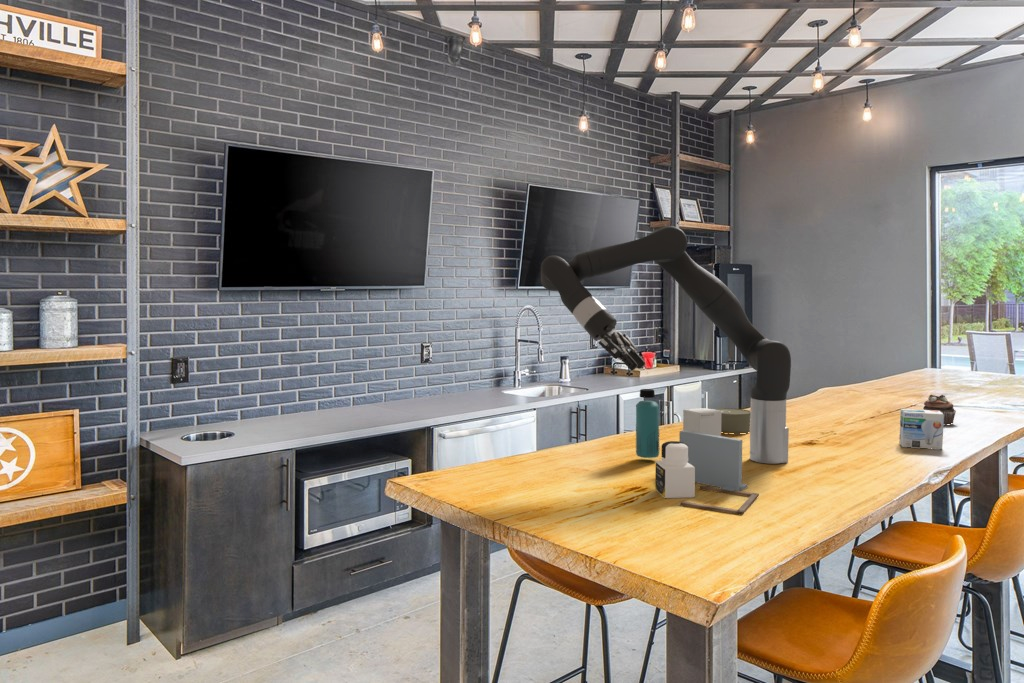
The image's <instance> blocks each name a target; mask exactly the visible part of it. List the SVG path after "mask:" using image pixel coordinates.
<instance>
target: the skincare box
mask: <svg viewBox="0 0 1024 683" xmlns="http://www.w3.org/2000/svg"><path fill="white" fill-rule="evenodd" d="M682 412H683V415H682V416H683V417H682V418H683V421H682V423H683V425H682V428H683V429H682V430H684V431H690V432H697V433H703V434H709V435H716V436H722V434H721V412H722V411H720V410H715V409H713V408H707V407H703V408H700V407H699V408H686V409H685V408H684V409H683V410H682Z"/></svg>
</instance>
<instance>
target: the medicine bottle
mask: <svg viewBox="0 0 1024 683" xmlns="http://www.w3.org/2000/svg"><path fill="white" fill-rule="evenodd" d="M687 461H688V445H687V444H685V443H683V442H679V441H675V440H669V441H665V442H664V443H662V444H661V460H660V459H659V460H655V483H654V484H655V491H656V492H657V493H658V494H660V496H661V497H662V498H664V499H665V498H667V499H689V498H690V499H692V498H695V496H696V495H695V494H696V492H695V491H696V490H695V489H696V487H695V483H696V482H695V467H694V466H692V465H691V464H689V463H688V462H687Z"/></svg>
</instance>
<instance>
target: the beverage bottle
mask: <svg viewBox="0 0 1024 683" xmlns="http://www.w3.org/2000/svg"><path fill="white" fill-rule="evenodd" d="M639 397H640V398H643V399H644V398H647V399H648V398H649V399H651V398H655V397H656V395H655V389H653V388H652V389H651V388H641V389H640V390H639ZM659 407H660V405H659V404H658V402H656V401H654V400H640V401H638V402H637V403H636V404H635V416H636V417H635V452H636V453H635V454H636V456H637V457H640V458H644V459H646V458H647V459H651V458H652V459H653V458H658V457H659V455H660V448H661V447H660V419H659V416H660V415H659V414H660V413H659Z"/></svg>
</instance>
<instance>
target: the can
mask: <svg viewBox="0 0 1024 683" xmlns="http://www.w3.org/2000/svg"><path fill="white" fill-rule="evenodd" d="M714 410H720V411H722V412H721V432H723V433H734V434H740V433H748V432H750V410H747V409H743V408H742V409H741V408H716V409H714ZM748 434H749V433H748Z"/></svg>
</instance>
